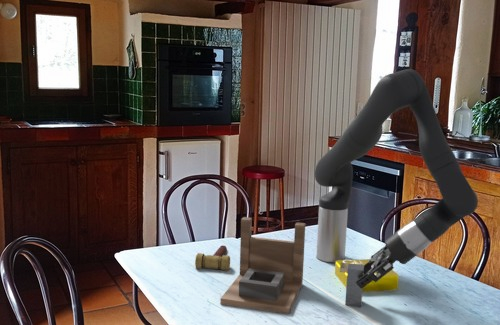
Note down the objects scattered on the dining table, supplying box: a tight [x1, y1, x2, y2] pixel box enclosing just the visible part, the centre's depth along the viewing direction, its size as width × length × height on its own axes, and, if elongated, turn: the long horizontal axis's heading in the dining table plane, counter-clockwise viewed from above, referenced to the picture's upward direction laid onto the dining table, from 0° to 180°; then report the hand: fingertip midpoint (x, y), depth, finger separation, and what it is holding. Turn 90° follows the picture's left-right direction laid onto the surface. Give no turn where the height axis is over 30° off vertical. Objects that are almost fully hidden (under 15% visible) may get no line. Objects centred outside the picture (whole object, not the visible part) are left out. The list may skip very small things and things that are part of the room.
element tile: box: [334, 258, 400, 292], centre depth 156 cm, size 15×15×5 cm
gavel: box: [194, 245, 231, 272], centre depth 170 cm, size 21×5×10 cm
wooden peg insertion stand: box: [219, 216, 306, 315], centre depth 143 cm, size 20×18×18 cm
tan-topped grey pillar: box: [339, 263, 364, 308], centre depth 140 cm, size 4×6×10 cm, turn 75°
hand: (359, 279), depth 139 cm, fingers open, 8 cm apart
